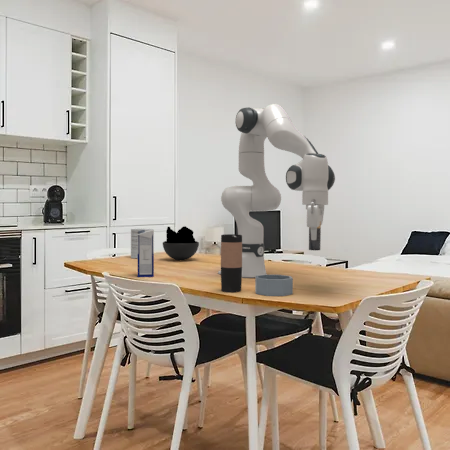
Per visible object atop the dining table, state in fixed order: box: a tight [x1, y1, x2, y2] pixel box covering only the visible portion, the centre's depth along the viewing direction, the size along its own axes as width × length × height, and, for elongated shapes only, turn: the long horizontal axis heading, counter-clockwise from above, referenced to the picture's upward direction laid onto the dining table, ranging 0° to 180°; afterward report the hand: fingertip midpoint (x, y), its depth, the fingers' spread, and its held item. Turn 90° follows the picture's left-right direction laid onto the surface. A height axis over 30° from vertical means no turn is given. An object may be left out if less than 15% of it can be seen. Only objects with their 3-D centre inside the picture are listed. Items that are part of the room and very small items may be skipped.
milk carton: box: [137, 229, 155, 278], centre depth 212 cm, size 7×7×20 cm
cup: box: [254, 274, 294, 297], centre depth 173 cm, size 13×13×6 cm
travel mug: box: [220, 233, 243, 293], centre depth 176 cm, size 8×8×20 cm
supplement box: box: [130, 228, 154, 260], centre depth 283 cm, size 10×9×17 cm
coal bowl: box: [162, 225, 200, 261], centre depth 272 cm, size 20×20×19 cm
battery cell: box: [308, 221, 322, 251], centre depth 172 cm, size 4×4×11 cm
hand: (314, 239), depth 172 cm, fingers closed on battery cell, 4 cm apart
